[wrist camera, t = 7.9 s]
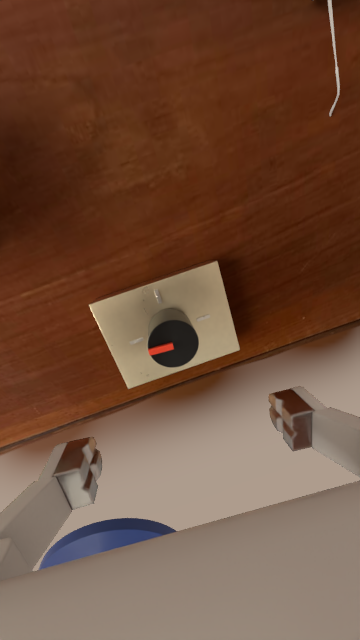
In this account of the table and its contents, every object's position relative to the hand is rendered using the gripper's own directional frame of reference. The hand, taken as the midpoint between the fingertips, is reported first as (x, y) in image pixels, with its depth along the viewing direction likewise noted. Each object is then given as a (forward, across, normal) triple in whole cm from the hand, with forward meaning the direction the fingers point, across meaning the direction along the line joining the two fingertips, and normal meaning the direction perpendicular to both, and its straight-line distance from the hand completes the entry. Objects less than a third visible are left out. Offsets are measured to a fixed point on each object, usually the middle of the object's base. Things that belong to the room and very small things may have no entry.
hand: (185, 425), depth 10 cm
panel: (+16, 0, 0) cm, 16 cm away
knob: (+13, 0, 0) cm, 13 cm away
